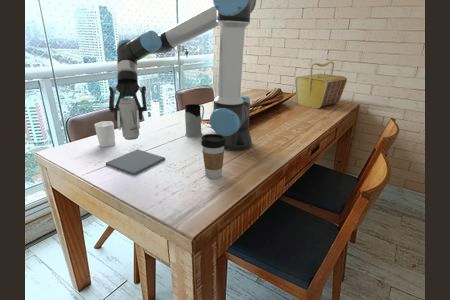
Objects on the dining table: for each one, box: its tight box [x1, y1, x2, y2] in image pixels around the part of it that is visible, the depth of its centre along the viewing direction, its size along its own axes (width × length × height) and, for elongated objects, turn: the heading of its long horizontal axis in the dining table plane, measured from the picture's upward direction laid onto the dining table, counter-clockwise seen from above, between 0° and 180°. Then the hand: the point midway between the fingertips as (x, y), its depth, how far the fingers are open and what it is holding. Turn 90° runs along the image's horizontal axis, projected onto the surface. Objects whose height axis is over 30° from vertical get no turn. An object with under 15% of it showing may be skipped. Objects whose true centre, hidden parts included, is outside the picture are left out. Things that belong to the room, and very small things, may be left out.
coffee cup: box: [200, 133, 225, 180], centre depth 96 cm, size 8×8×15 cm
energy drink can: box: [119, 97, 140, 141], centre depth 102 cm, size 6×6×15 cm
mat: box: [105, 148, 166, 176], centre depth 108 cm, size 16×16×1 cm
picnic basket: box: [294, 61, 348, 110], centre depth 197 cm, size 29×26×30 cm
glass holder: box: [184, 103, 205, 139], centre depth 138 cm, size 9×14×15 cm, turn 152°
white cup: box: [94, 120, 116, 148], centre depth 124 cm, size 8×8×10 cm
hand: (128, 127), depth 99 cm, fingers closed on energy drink can, 6 cm apart
